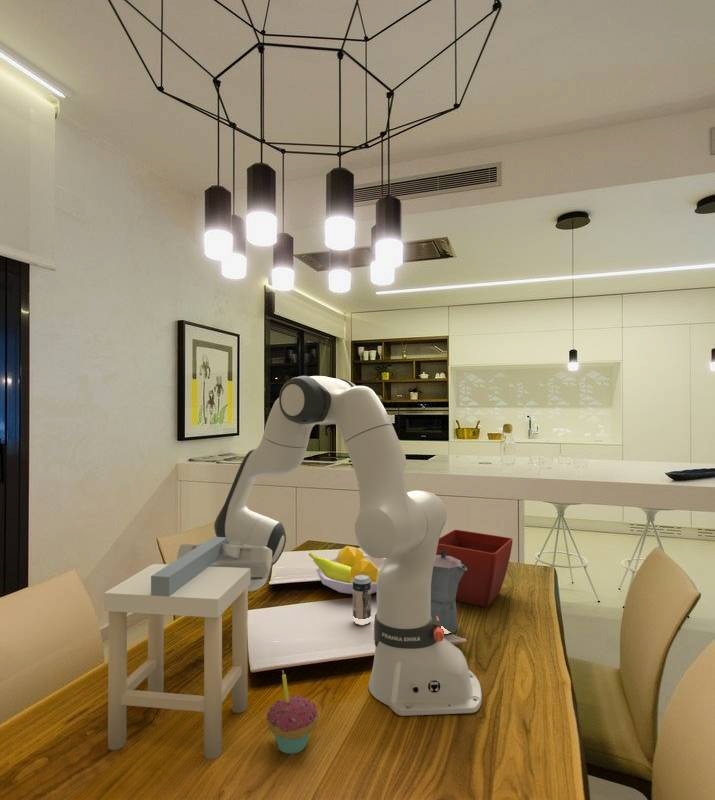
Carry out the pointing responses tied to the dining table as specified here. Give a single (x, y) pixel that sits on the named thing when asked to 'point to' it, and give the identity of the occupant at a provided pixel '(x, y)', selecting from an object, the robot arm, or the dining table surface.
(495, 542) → the plant pot
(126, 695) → the stool
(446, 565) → the moka pot
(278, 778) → the dining table surface
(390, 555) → the robot arm
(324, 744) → the dining table surface
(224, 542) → the blue-gray rectangular bar
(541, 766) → the dining table surface
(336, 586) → the fruit bowl
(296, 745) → the cupcake
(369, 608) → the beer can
